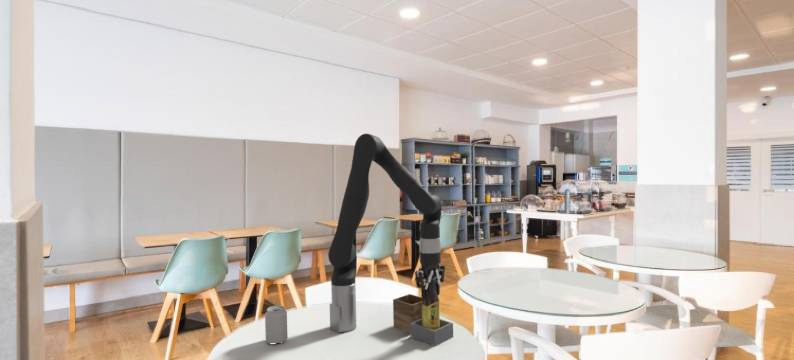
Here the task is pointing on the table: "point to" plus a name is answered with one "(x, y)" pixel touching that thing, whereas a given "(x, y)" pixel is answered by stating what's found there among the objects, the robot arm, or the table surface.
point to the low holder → (432, 332)
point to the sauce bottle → (431, 307)
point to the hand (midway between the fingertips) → (430, 296)
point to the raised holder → (406, 311)
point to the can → (276, 324)
